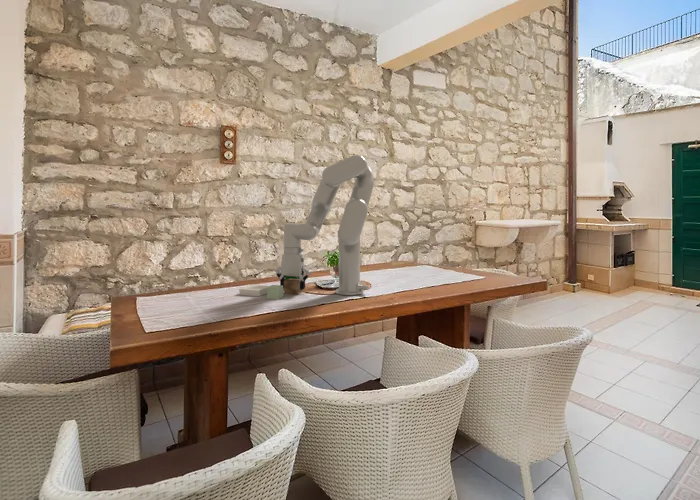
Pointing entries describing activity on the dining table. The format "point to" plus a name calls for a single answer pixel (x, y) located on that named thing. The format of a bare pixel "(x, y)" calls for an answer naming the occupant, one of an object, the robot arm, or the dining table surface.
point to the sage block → (274, 291)
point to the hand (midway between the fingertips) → (292, 288)
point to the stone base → (253, 290)
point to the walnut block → (292, 286)
